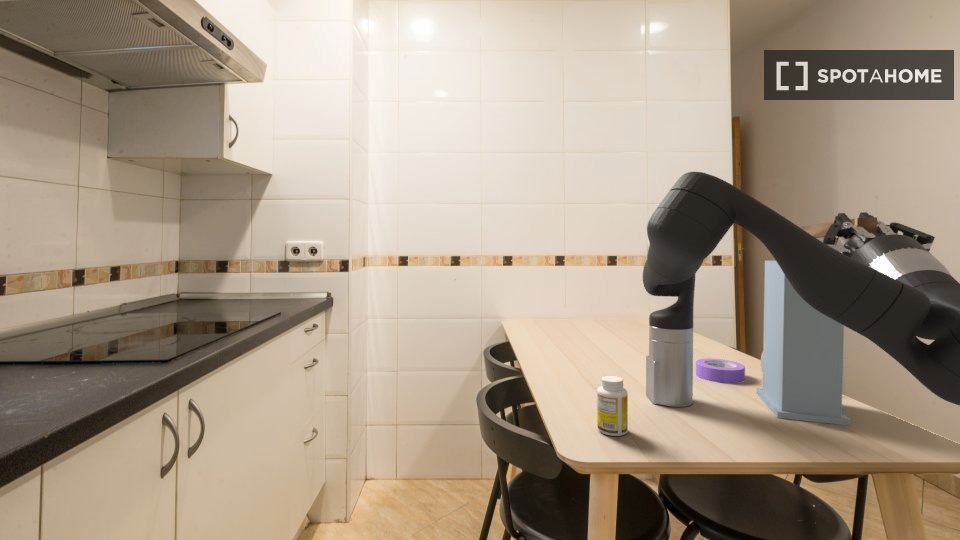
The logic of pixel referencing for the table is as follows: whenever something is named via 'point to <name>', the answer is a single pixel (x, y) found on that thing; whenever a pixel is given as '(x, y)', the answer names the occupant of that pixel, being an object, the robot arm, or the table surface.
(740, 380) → the masking tape
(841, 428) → the table surface
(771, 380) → the pale blue pedestal
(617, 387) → the supplement bottle
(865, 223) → the brown wooden bar
